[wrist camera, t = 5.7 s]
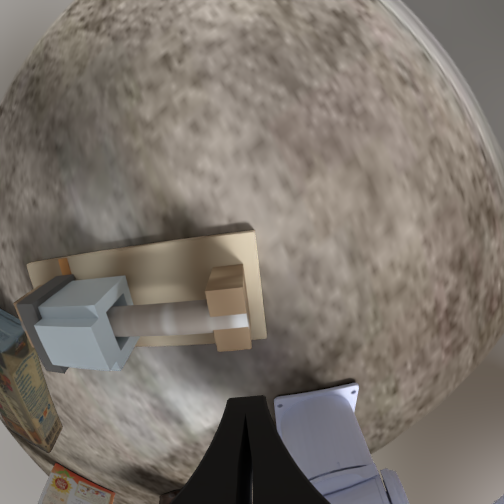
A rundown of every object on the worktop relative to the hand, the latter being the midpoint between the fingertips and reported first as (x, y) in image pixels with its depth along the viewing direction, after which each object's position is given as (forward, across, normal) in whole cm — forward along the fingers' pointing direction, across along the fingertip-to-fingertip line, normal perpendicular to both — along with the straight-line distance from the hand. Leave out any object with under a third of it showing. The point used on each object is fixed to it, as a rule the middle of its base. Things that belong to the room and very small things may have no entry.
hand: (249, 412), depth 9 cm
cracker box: (+10, +40, +42) cm, 59 cm away
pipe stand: (+10, +9, -1) cm, 14 cm away
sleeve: (+9, +11, -1) cm, 14 cm away
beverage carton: (+11, +29, +9) cm, 32 cm away
